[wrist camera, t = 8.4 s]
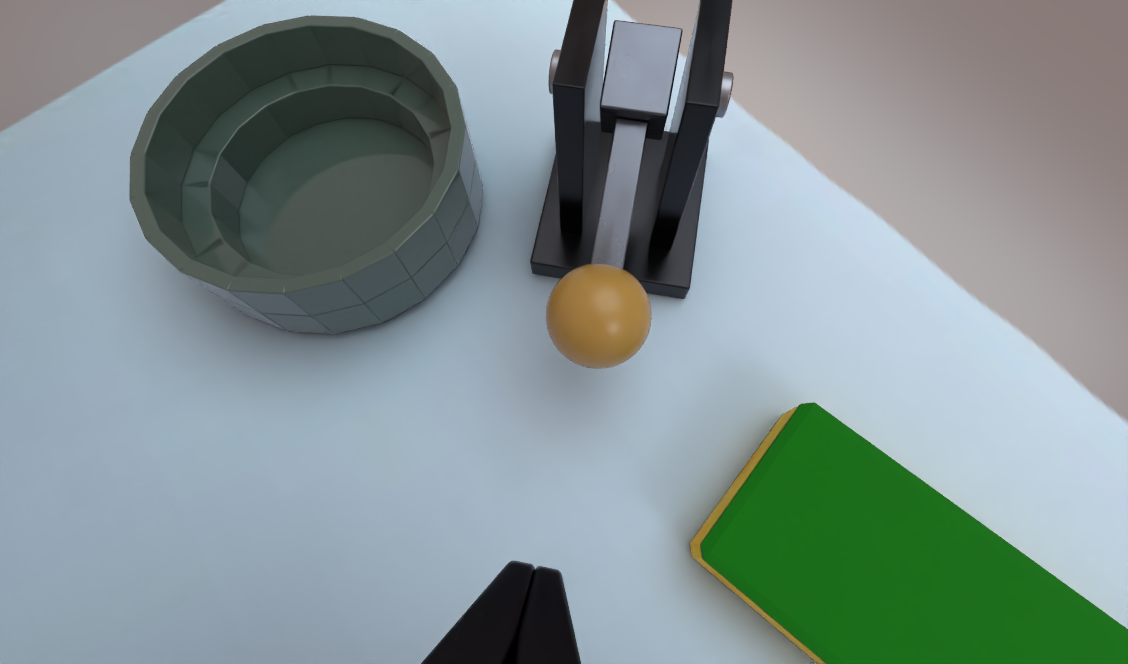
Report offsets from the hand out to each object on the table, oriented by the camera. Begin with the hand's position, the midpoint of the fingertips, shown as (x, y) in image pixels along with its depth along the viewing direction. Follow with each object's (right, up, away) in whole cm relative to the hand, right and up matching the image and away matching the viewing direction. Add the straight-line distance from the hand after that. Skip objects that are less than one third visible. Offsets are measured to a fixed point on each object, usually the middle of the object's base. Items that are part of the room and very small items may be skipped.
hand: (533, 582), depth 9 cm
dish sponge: (+13, -6, +12) cm, 18 cm away
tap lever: (+2, +8, +12) cm, 15 cm away
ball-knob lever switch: (+3, +10, +17) cm, 20 cm away
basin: (-10, +10, +18) cm, 23 cm away
